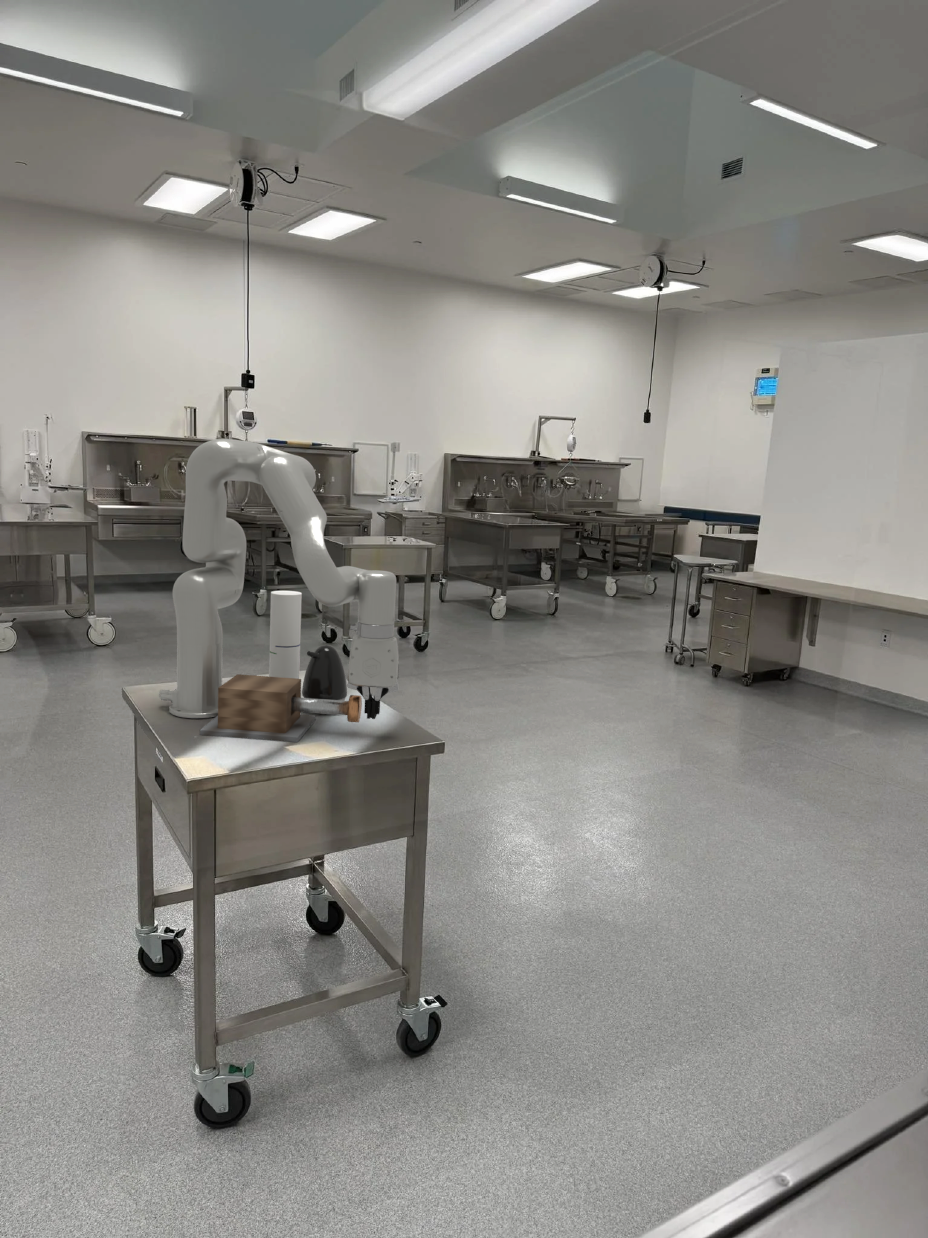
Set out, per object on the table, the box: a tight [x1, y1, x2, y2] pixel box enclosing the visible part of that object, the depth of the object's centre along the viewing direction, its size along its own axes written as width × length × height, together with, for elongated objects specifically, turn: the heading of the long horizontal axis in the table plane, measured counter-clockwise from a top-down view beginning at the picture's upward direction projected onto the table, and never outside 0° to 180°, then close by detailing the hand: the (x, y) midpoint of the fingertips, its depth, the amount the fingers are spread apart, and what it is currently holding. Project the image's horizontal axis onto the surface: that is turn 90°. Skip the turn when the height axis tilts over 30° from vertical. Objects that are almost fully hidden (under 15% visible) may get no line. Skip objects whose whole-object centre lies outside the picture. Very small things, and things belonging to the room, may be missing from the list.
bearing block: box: [199, 673, 317, 743], centre depth 174 cm, size 20×16×10 cm
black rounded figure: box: [301, 644, 348, 701], centre depth 189 cm, size 10×10×15 cm
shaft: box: [291, 694, 363, 723], centre depth 174 cm, size 20×6×6 cm, turn 87°
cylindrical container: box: [268, 590, 303, 679], centre depth 199 cm, size 7×7×25 cm
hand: (371, 717), depth 174 cm, fingers closed
